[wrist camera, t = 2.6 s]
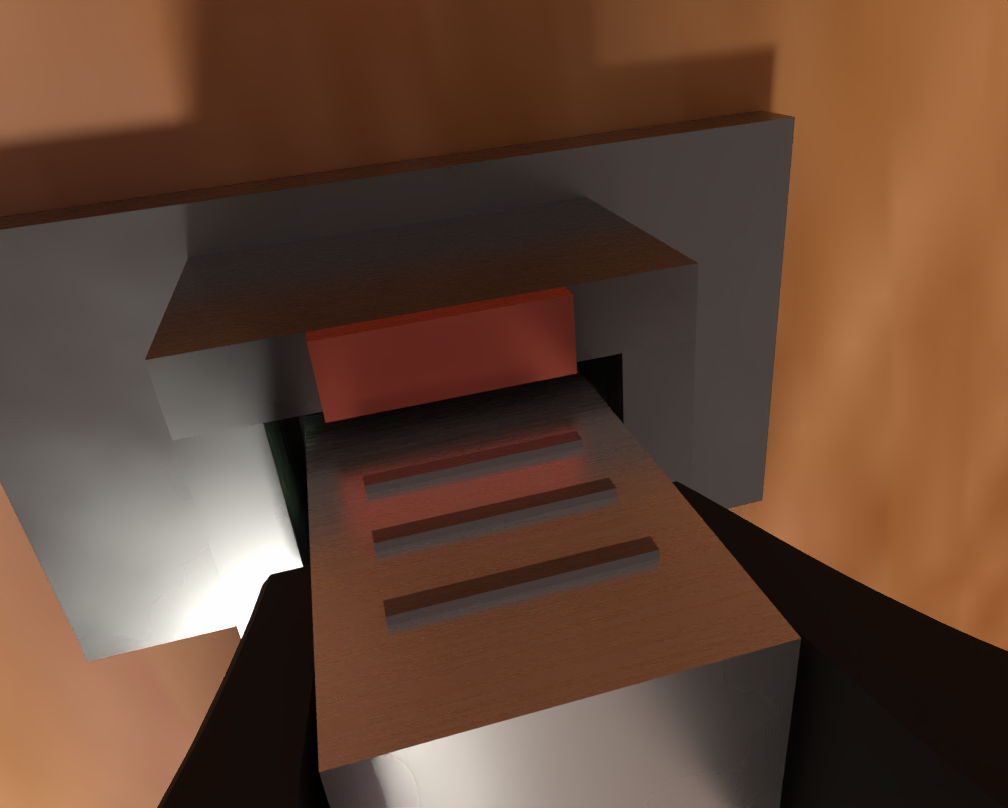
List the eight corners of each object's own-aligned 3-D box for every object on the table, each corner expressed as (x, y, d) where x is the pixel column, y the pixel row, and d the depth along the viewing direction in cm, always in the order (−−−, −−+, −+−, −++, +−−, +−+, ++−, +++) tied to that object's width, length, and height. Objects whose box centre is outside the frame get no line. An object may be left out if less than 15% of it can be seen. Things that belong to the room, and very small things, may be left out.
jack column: (536, 474, 15) (775, 910, 7) (339, 517, 14) (392, 1043, 7) (521, 287, 13) (813, 624, 6) (293, 326, 12) (301, 767, 5)
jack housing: (739, 476, 18) (897, 638, 13) (99, 625, 15) (16, 888, 10) (763, 111, 14) (998, 155, 9) (-84, 228, 11) (-338, 370, 7)
